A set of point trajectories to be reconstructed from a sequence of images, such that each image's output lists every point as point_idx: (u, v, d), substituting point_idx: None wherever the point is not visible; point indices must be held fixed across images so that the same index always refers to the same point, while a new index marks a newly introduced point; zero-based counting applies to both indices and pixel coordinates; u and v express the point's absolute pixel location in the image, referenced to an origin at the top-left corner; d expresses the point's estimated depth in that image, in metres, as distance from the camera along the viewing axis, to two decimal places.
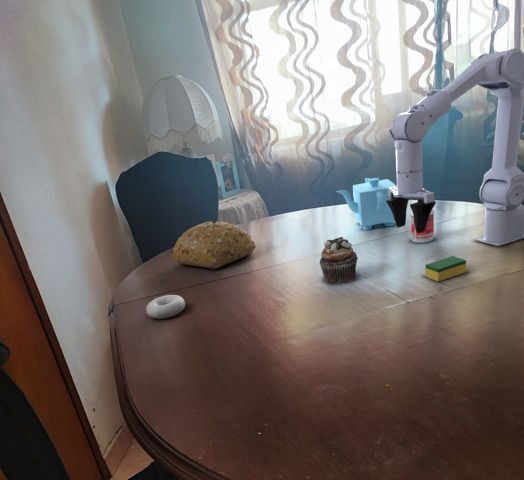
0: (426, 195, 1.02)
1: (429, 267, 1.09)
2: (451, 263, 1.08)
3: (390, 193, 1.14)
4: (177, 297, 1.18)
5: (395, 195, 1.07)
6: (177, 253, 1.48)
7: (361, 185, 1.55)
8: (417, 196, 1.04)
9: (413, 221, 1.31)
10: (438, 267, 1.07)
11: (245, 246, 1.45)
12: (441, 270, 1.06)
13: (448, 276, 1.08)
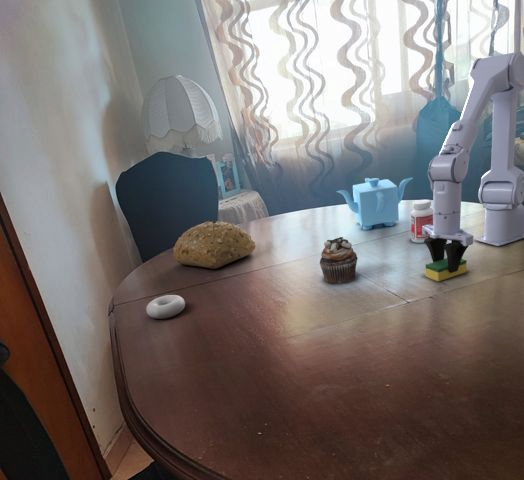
0: (465, 238, 0.99)
1: (429, 267, 1.09)
2: None
3: (424, 231, 1.11)
4: (177, 297, 1.18)
5: (432, 236, 1.04)
6: (177, 253, 1.48)
7: (361, 185, 1.55)
8: (455, 238, 1.01)
9: (413, 221, 1.31)
10: (438, 267, 1.07)
11: (245, 246, 1.45)
12: (441, 270, 1.06)
13: (448, 276, 1.08)
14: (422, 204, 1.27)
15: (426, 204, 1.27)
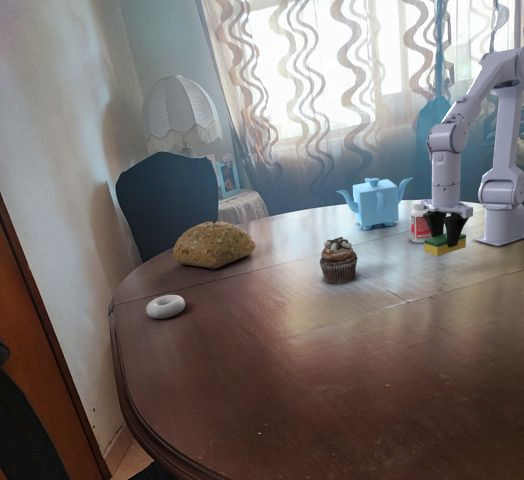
0: (465, 210, 0.97)
1: (428, 242, 1.06)
2: None
3: (423, 206, 1.08)
4: (177, 297, 1.18)
5: (430, 209, 1.02)
6: (177, 253, 1.48)
7: (361, 185, 1.55)
8: (455, 210, 0.99)
9: (413, 221, 1.31)
10: (437, 242, 1.04)
11: (245, 246, 1.45)
12: (440, 245, 1.04)
13: (447, 251, 1.05)
14: None
15: None
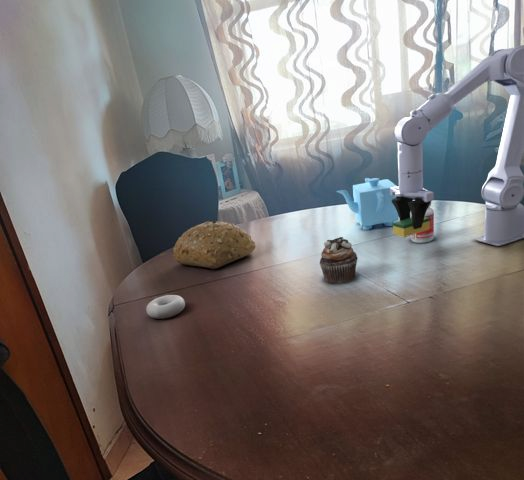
0: (426, 194, 1.09)
1: (396, 224, 1.19)
2: None
3: (392, 192, 1.21)
4: (177, 297, 1.18)
5: (397, 194, 1.14)
6: (177, 253, 1.48)
7: (361, 185, 1.55)
8: (418, 195, 1.11)
9: None
10: (404, 224, 1.17)
11: (245, 246, 1.45)
12: (406, 226, 1.17)
13: (413, 232, 1.18)
14: None
15: None
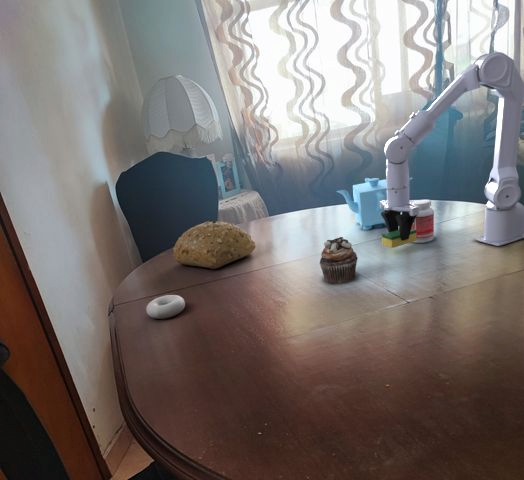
0: (412, 209, 1.17)
1: (384, 236, 1.27)
2: None
3: (381, 206, 1.29)
4: (177, 297, 1.18)
5: (385, 208, 1.22)
6: (177, 253, 1.48)
7: (361, 185, 1.55)
8: (404, 209, 1.19)
9: None
10: (392, 236, 1.25)
11: (245, 246, 1.45)
12: (394, 238, 1.24)
13: (400, 243, 1.26)
14: (422, 204, 1.27)
15: (426, 204, 1.27)
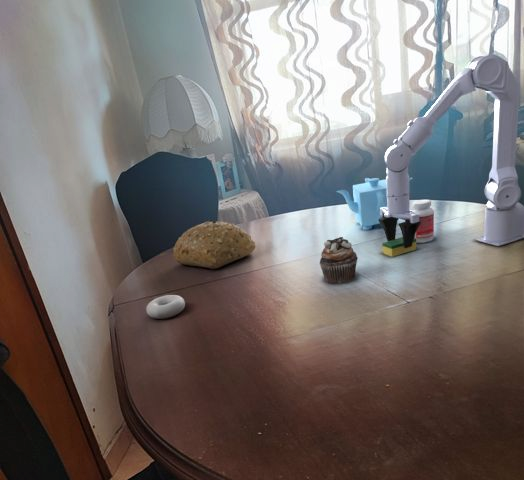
0: (412, 216, 1.18)
1: (385, 245, 1.28)
2: None
3: (382, 212, 1.30)
4: (177, 297, 1.18)
5: (386, 215, 1.23)
6: (177, 253, 1.48)
7: (361, 185, 1.55)
8: (404, 217, 1.20)
9: None
10: (392, 244, 1.26)
11: (245, 246, 1.45)
12: (394, 247, 1.26)
13: (401, 252, 1.27)
14: (422, 204, 1.27)
15: (426, 204, 1.27)
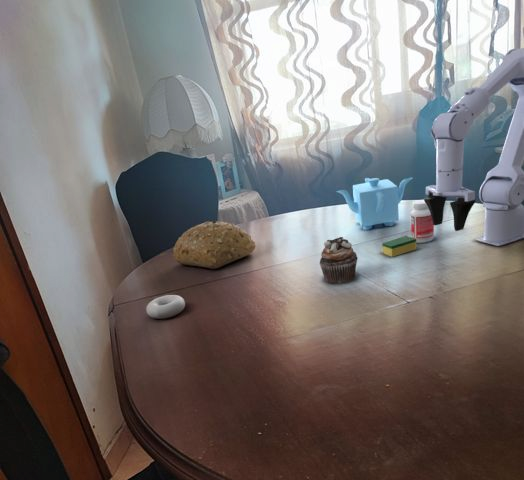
0: (467, 193, 1.04)
1: (385, 245, 1.28)
2: (403, 241, 1.27)
3: (428, 191, 1.15)
4: (177, 297, 1.18)
5: (435, 193, 1.09)
6: (177, 253, 1.48)
7: (361, 185, 1.55)
8: (457, 194, 1.06)
9: (413, 221, 1.31)
10: (392, 244, 1.26)
11: (245, 246, 1.45)
12: (394, 247, 1.26)
13: (401, 252, 1.27)
14: (422, 204, 1.27)
15: (426, 204, 1.27)
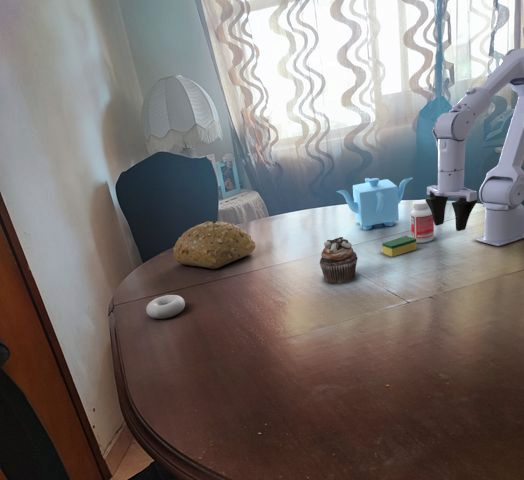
0: (469, 193, 1.03)
1: (385, 245, 1.28)
2: (403, 241, 1.27)
3: (429, 192, 1.15)
4: (177, 297, 1.18)
5: (436, 193, 1.09)
6: (177, 253, 1.48)
7: (361, 185, 1.55)
8: (459, 194, 1.05)
9: (413, 221, 1.31)
10: (392, 244, 1.26)
11: (245, 246, 1.45)
12: (394, 247, 1.26)
13: (401, 252, 1.27)
14: (422, 204, 1.27)
15: (426, 204, 1.27)
